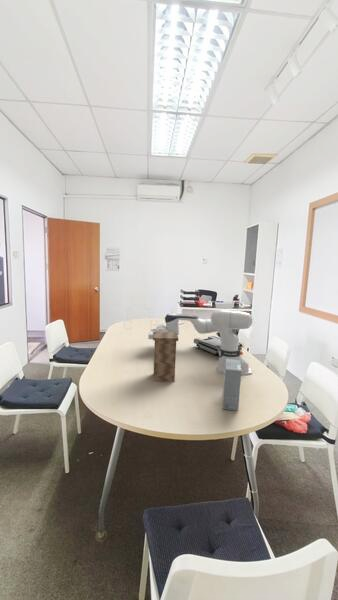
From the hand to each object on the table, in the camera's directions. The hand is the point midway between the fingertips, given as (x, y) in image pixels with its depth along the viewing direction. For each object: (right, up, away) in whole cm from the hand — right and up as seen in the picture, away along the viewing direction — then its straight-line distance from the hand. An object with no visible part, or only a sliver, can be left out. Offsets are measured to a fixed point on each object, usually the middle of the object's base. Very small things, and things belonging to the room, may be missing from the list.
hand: (162, 339), depth 197 cm
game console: (+42, -13, +23) cm, 50 cm away
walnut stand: (+1, -18, -31) cm, 36 cm away
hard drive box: (+35, -24, -57) cm, 71 cm away
